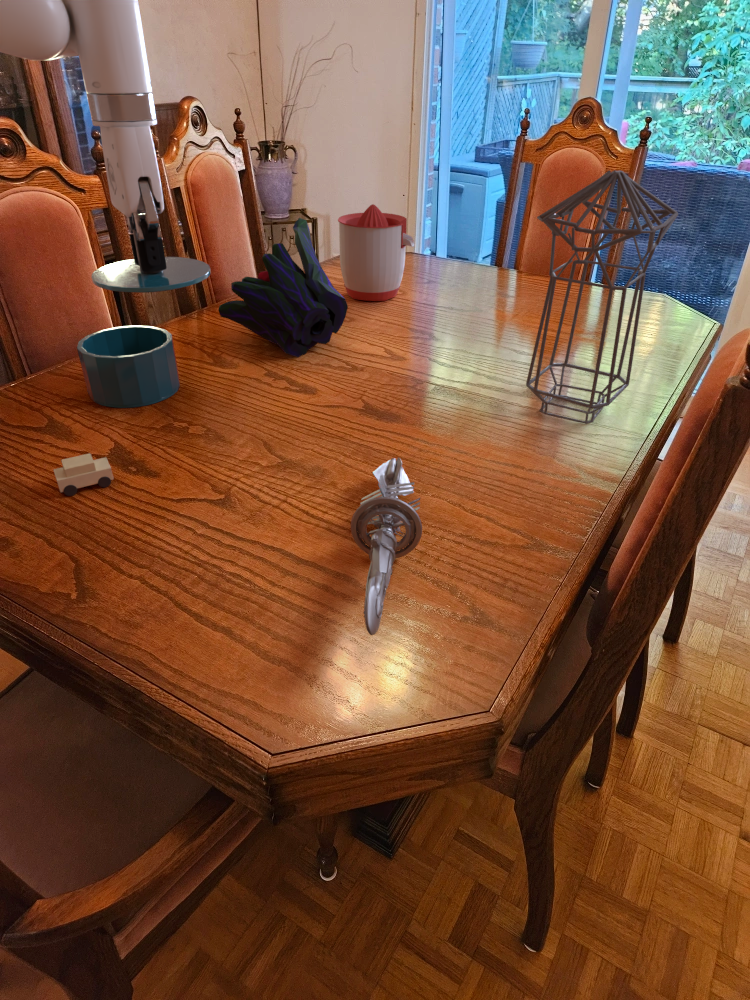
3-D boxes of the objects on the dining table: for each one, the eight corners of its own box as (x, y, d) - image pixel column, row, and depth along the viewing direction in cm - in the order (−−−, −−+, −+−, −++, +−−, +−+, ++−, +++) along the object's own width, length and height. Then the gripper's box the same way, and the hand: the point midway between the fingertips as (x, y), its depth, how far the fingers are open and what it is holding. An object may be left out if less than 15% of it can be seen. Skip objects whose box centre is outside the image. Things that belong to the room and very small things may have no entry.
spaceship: (311, 607, 57) (397, 584, 55) (357, 446, 88) (414, 428, 86) (346, 674, 60) (428, 655, 58) (379, 497, 91) (433, 480, 89)
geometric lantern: (634, 406, 109) (693, 169, 89) (602, 444, 98) (661, 184, 78) (543, 383, 116) (579, 159, 96) (504, 416, 105) (536, 172, 86)
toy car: (62, 498, 85) (54, 473, 83) (58, 485, 87) (50, 460, 85) (115, 485, 87) (109, 460, 85) (110, 473, 90) (104, 448, 88)
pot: (85, 412, 105) (72, 361, 100) (93, 376, 117) (82, 329, 112) (180, 402, 108) (172, 353, 103) (179, 368, 120) (171, 322, 115)
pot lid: (88, 301, 83) (74, 245, 80) (98, 268, 96) (87, 219, 92) (214, 292, 87) (207, 238, 83) (208, 262, 99) (202, 214, 95)
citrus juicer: (407, 307, 150) (411, 213, 139) (332, 302, 152) (330, 209, 141) (416, 288, 163) (420, 199, 152) (347, 283, 165) (345, 196, 154)
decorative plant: (280, 404, 129) (216, 322, 144) (389, 334, 133) (315, 261, 148) (242, 328, 112) (173, 244, 127) (369, 250, 115) (287, 177, 130)
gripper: (78, 107, 84) (109, 257, 95) (104, 116, 73) (137, 286, 83) (138, 106, 87) (162, 251, 98) (172, 114, 76) (196, 278, 86)
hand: (150, 265), depth 90 cm, fingers closed on pot lid, 3 cm apart
